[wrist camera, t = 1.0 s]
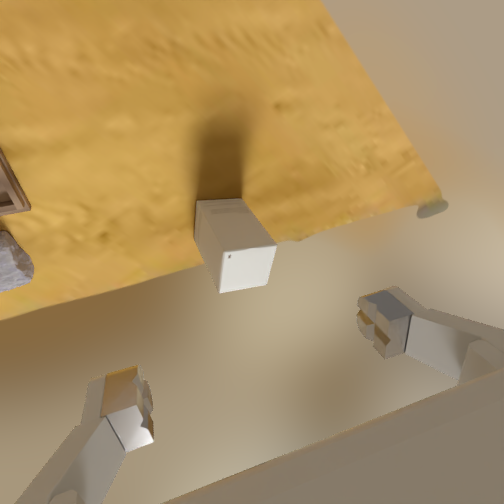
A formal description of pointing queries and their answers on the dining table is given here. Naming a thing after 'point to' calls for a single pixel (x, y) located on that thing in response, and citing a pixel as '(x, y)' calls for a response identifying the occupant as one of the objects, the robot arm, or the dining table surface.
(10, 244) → the stone block
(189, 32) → the dining table surface
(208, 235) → the supplement box
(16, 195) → the brown wooden tray
